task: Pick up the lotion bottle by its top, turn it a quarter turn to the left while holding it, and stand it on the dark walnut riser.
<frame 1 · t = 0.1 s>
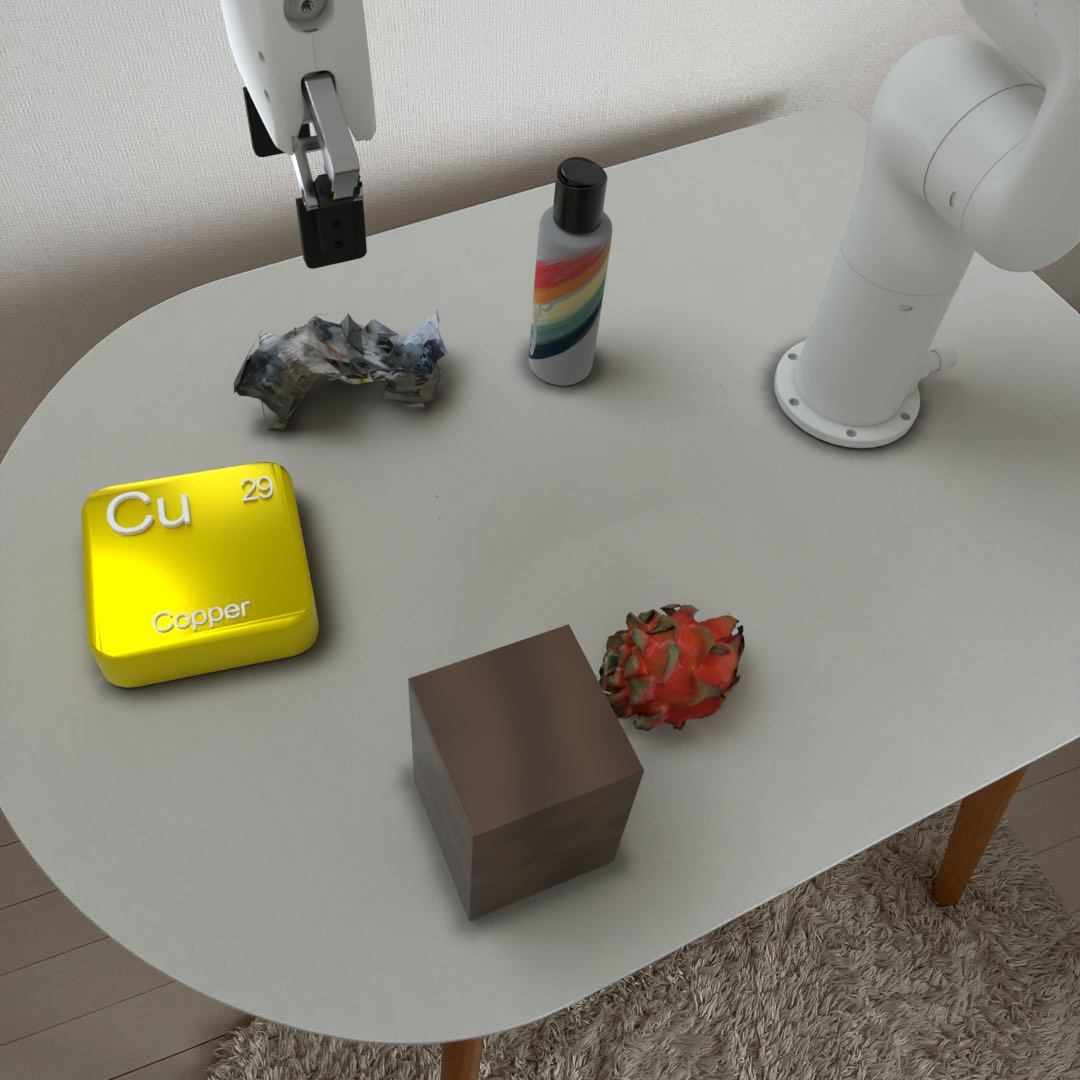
hand: (308, 202, 60), 31 cm above the table, tool pointing down, fingers open, 9 cm apart
foil: (352, 393, 94), on the table
dragon fruit: (666, 689, 79), on the table
element tile: (205, 587, 82), on the table
riser: (524, 723, 61), on the table
lotion bottle: (560, 365, 98), on the table
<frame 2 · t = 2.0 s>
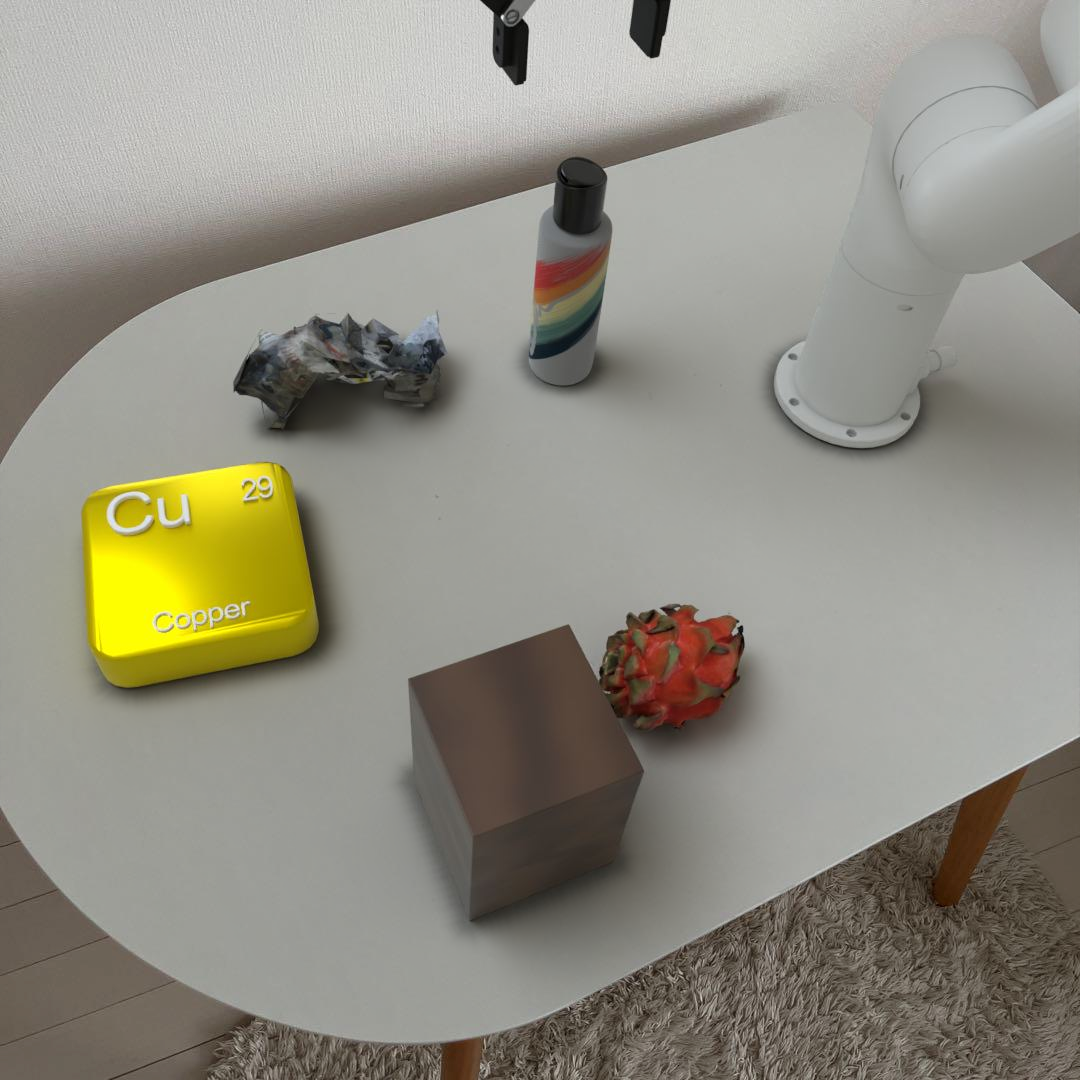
hand: (578, 60, 73), 29 cm above the table, tool pointing down, fingers open, 9 cm apart
nothing on the table moved.
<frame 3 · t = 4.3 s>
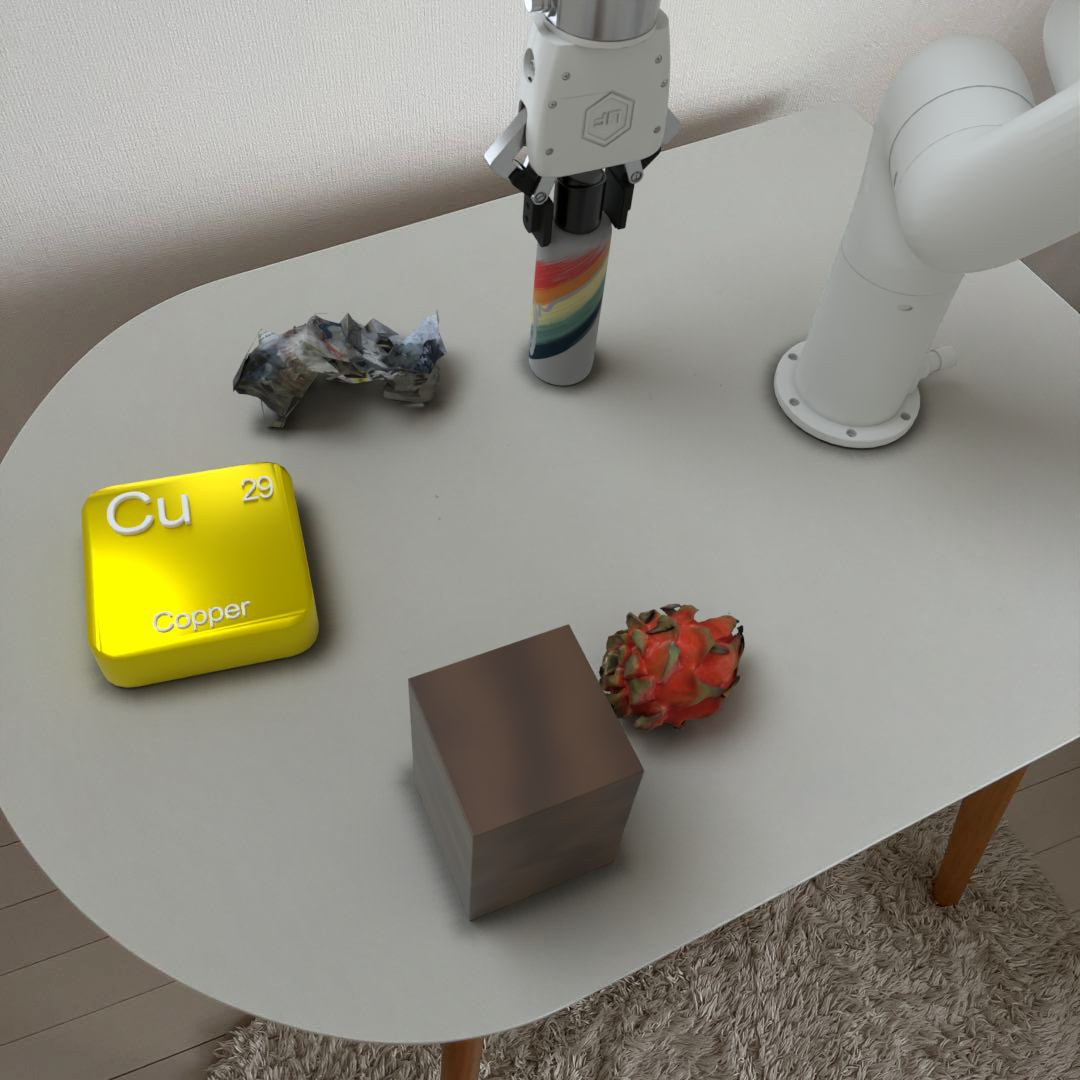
hand: (575, 225, 85), 15 cm above the table, tool pointing down, fingers closed on lotion bottle, 5 cm apart
lotion bottle: (560, 365, 98), on the table, touching gripper
everything else where it was.
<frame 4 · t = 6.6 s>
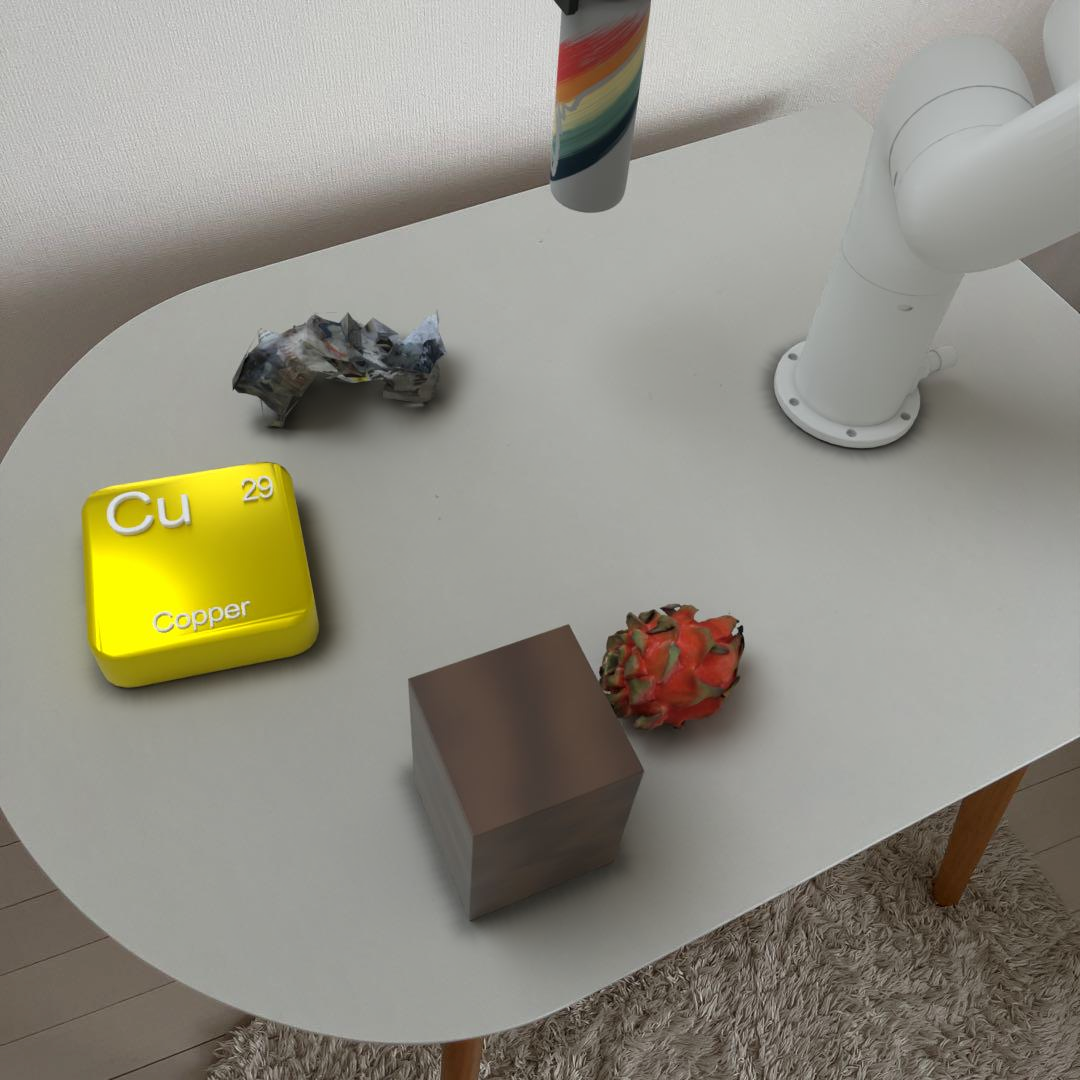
lotion bottle: (586, 193, 83), point 18 cm above the table, touching gripper
everything else where it was.
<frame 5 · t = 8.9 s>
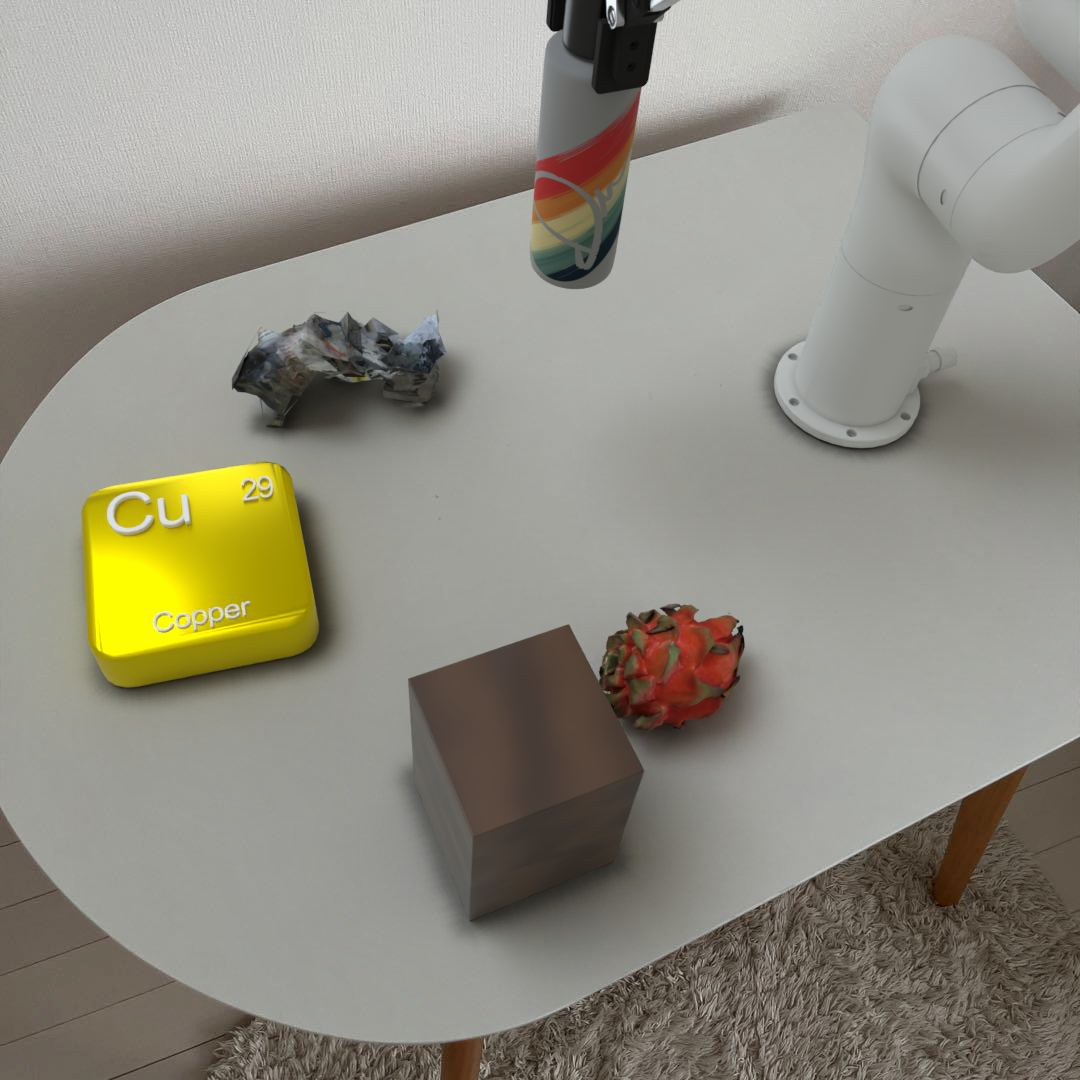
hand: (595, 53, 62), 35 cm above the table, tool pointing down, fingers closed on lotion bottle, 5 cm apart
lotion bottle: (571, 265, 74), point 20 cm above the table, touching gripper
everything else where it was.
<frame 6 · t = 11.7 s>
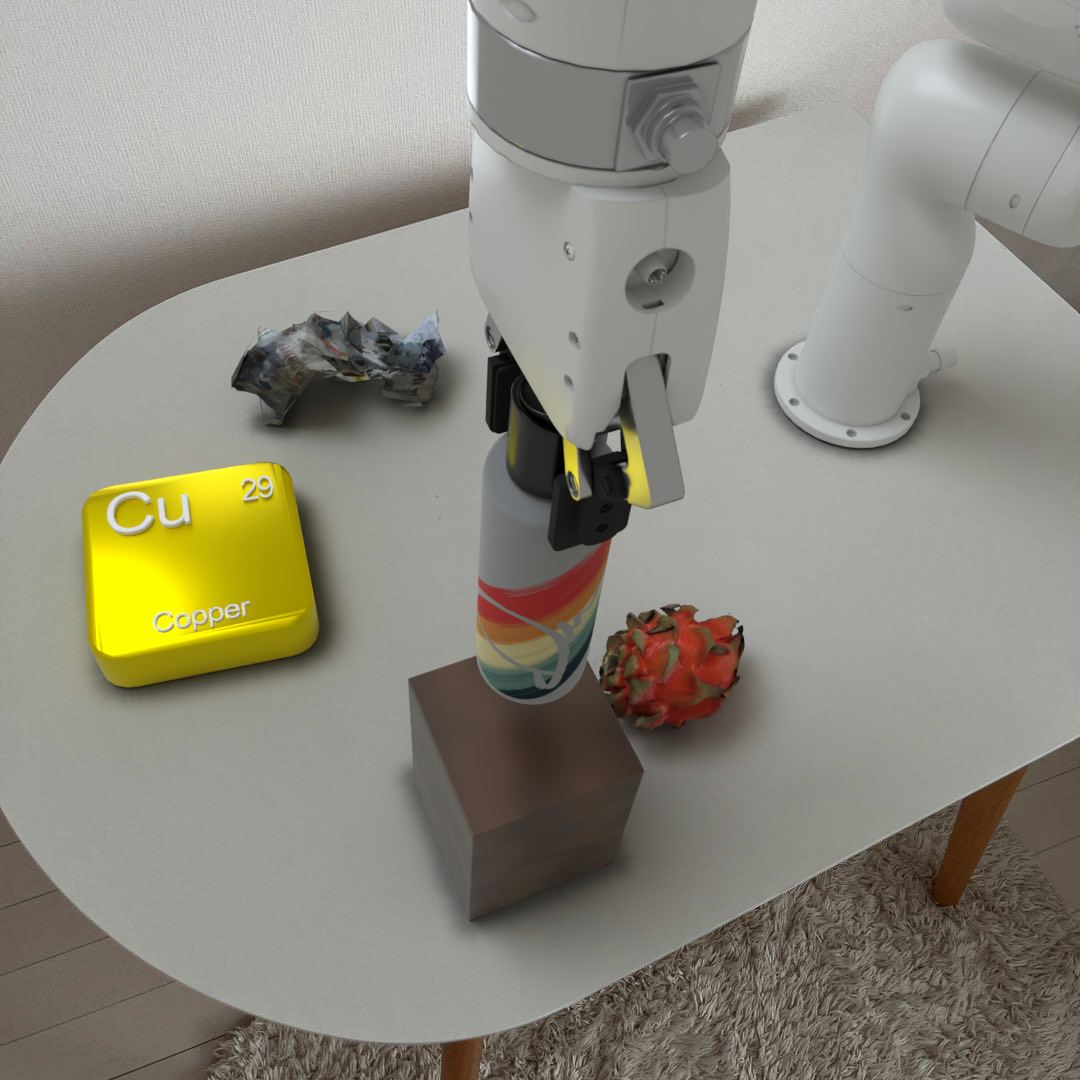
hand: (553, 473, 45), 35 cm above the table, tool pointing down, fingers closed on lotion bottle, 5 cm apart
lotion bottle: (530, 659, 57), point 20 cm above the table, touching gripper
everything else where it was.
when the fingers open (29 cm above the table, at t = 13.9 s): lotion bottle stays where it is, resting on riser.
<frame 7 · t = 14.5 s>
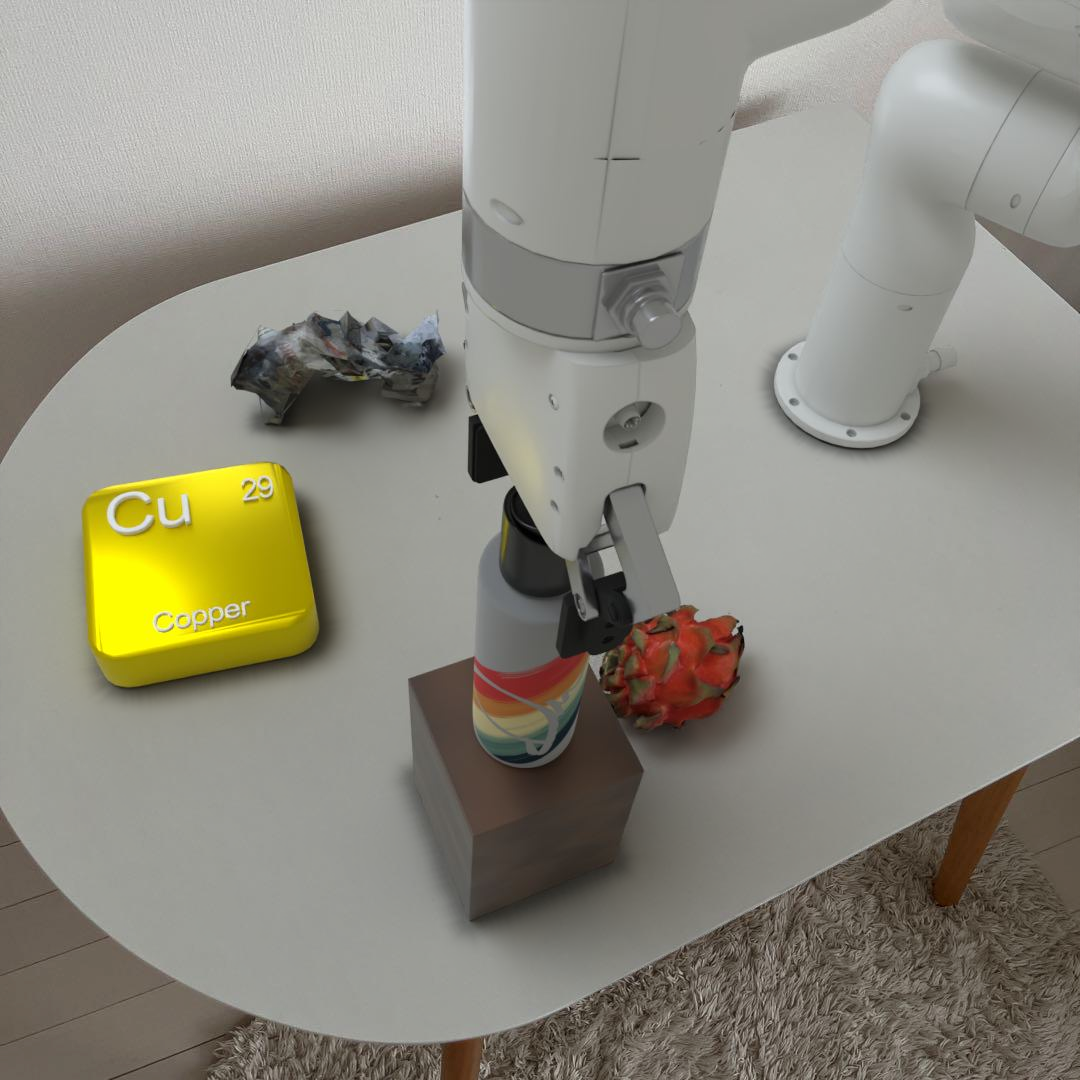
hand: (545, 552, 48), 30 cm above the table, tool pointing down, fingers open, 9 cm apart
lotion bottle: (523, 724, 61), point 14 cm above the table, touching riser
everything else where it was.
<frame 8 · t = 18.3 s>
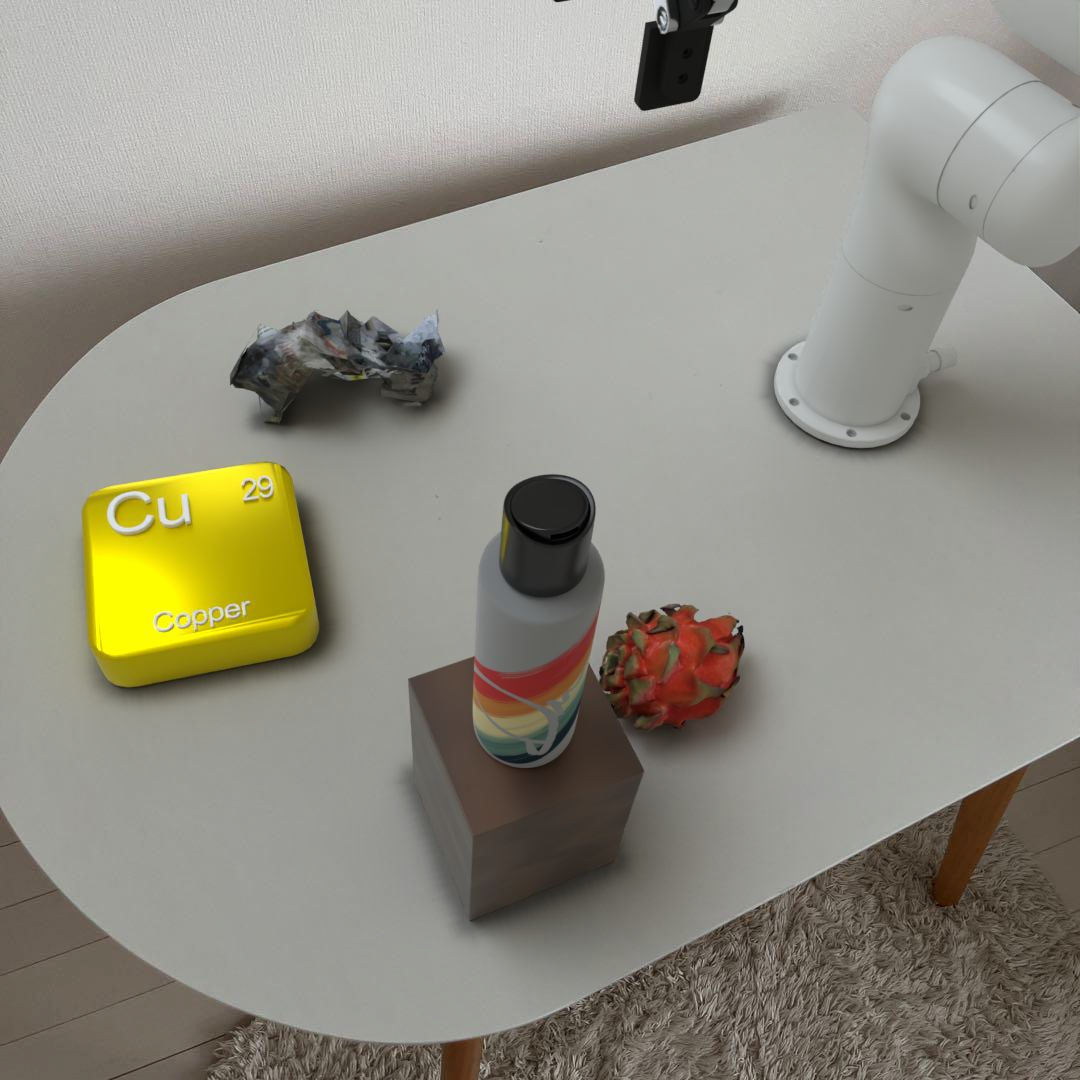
hand: (620, 46, 54), 40 cm above the table, tool pointing down, fingers open, 9 cm apart
nothing on the table moved.
at the end: lotion bottle inside the target area on the riser (0.0 cm from its centre), point 0.0 cm above the riser's base; lotion bottle tilted 0°; the gripper is holding nothing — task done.
